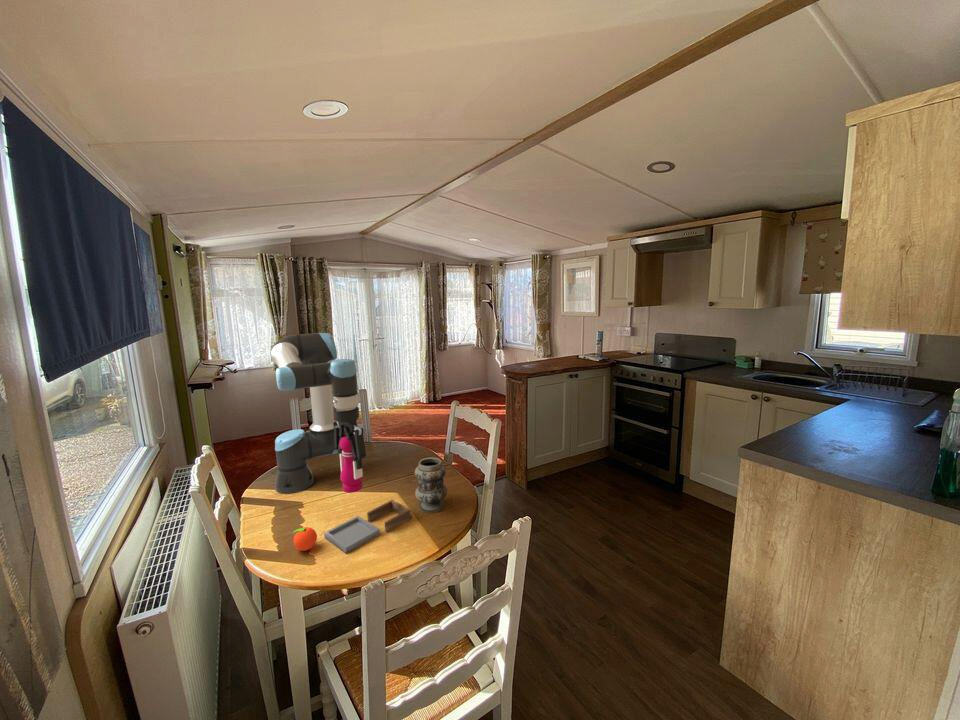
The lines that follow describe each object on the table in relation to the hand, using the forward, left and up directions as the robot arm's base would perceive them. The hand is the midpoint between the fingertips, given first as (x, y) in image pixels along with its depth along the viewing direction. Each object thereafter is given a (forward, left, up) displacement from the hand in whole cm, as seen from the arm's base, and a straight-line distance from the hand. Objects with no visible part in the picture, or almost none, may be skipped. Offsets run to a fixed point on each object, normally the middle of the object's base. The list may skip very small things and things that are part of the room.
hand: (351, 474), depth 132 cm
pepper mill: (0, 0, -5) cm, 5 cm away
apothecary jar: (+7, +29, -22) cm, 37 cm away
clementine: (-6, -15, -22) cm, 27 cm away
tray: (0, -1, -22) cm, 22 cm away
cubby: (+2, +13, -22) cm, 25 cm away
